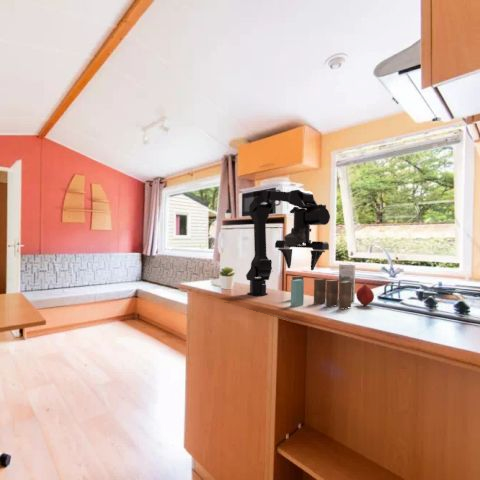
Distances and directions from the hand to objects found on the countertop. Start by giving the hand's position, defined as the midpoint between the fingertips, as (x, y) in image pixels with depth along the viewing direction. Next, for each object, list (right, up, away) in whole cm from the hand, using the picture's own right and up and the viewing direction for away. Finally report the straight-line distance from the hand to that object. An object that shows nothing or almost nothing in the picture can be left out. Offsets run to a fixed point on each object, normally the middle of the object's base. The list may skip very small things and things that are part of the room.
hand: (300, 269), depth 107 cm
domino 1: (+1, -13, +12) cm, 17 cm away
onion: (+24, -14, +1) cm, 27 cm away
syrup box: (+21, -14, +12) cm, 28 cm away
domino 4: (+12, -13, +1) cm, 18 cm away
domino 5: (+15, -13, -3) cm, 20 cm away
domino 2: (-1, -13, 0) cm, 13 cm away
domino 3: (+8, -13, +4) cm, 16 cm away
